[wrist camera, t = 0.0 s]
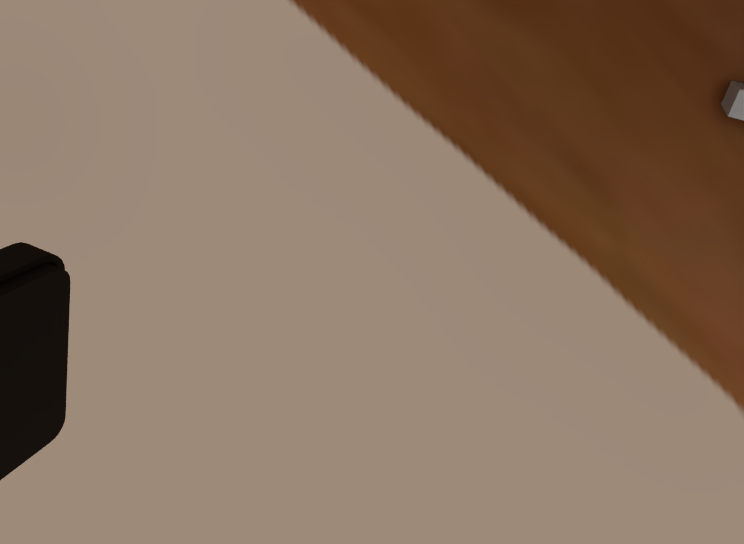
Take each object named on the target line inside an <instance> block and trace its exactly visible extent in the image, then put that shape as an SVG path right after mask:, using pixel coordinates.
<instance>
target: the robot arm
mask: <svg viewBox="0 0 744 544" xmlns="http://www.w3.org/2000/svg"><path fill="white" fill-rule="evenodd" d="M69 301H70V276H69V274H68V272H66V271H65V267H64V264H63V261H62V260H61V259H60V258H59V257H58V256H56V255H54V254H51V253H49V252H46V251H44V250H42V249H39V248H37V247H34V246H32V245H30V244H27V243H22V242H20V243H16V244H12V245H10V246H7V247H5V248H2V249H0V480H1V479H2V478H4V477H5V476H6V475H8V474H9V473H10V472H12V471H13V470H14V469H16V468H17V467H18V466H20V465H21V464H22V463H24V462H25V461H26V460H27V459H29V458H30V457H31V456H33V455H34V454H35V453H37V452H38V451H39V450H41V449H42V448H43V447H45V446H46V445H47V444H49V443H50V442H51V441H52V440H53V439H54V438H55V437H56V436H57V435H58V433H59V432H60V430H61V428H62V427H63V424H64V421H65V411H66V384H67V357H68V330H69V303H70V302H69Z"/></svg>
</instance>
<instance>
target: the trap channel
mask: <svg viewBox="0 0 744 544" xmlns="http://www.w3.org/2000/svg"><path fill="white" fill-rule="evenodd" d="M721 106H722V108H723V109H724V111H725V113H726V114H727V116H729V117H733V118H736V119H740V120H743V121H744V83H741V82H737V81H733V80H731V83H730V85H729V87H728V89H727V92H726V94H725V96H724V98H723V101H722V103H721Z"/></svg>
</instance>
